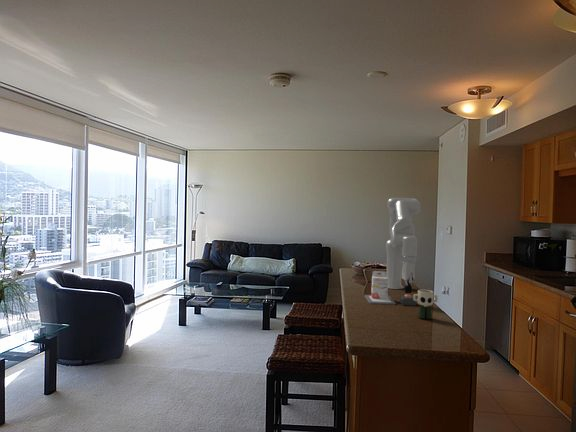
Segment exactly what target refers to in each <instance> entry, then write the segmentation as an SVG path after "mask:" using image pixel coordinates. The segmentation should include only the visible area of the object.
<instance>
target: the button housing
mask: <svg viewBox="0 0 576 432" xmlns="http://www.w3.org/2000/svg"><path fill="white" fill-rule="evenodd" d="M413 296H414V295H411V298H404V295H400V296H399V303H400V304H401V305H402V306H413V307H414V306H415V307H416V305H417V301H414V300H413Z"/></svg>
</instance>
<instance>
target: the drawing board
mask: <svg viewBox="0 0 576 432" xmlns="http://www.w3.org/2000/svg"><path fill="white" fill-rule="evenodd" d="M364 298H365V299H366V300H367V303H368V304H370V305H396V304H397V302H396V301H394V299H392V297H391V295H390V296H389V295H388V296H387V299H378V298H372V297H371V294H370V295H369V294H367V295H366V294H365V295H364Z"/></svg>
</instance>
